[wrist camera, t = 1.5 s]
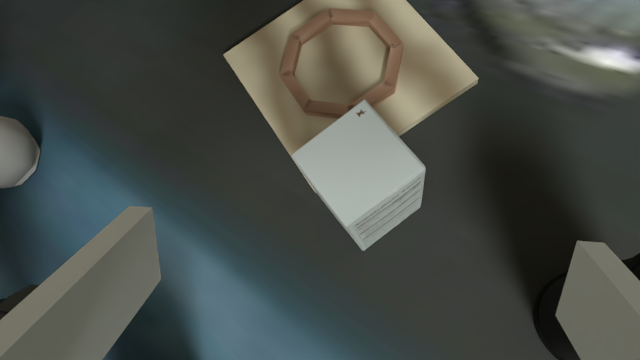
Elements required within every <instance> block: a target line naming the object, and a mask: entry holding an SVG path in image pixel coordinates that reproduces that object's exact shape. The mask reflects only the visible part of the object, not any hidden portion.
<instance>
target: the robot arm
mask: <svg viewBox="0 0 640 360" xmlns="http://www.w3.org/2000/svg"><path fill="white" fill-rule="evenodd" d="M160 280H161V272H160V264H159V257H158V249H157V241H156V233H155V225H154V217H153V210H152V208H149V207H136V206H129V207H128V208H127V209H125V210H124V211H123V212H122V213H121V214H120V215H119V216H118V217H116V218H115V219H114V220H113V221H112V222H111V223H110V224H108V225H107V226H106V227H105V228H104V229H103V230H102V231H101V232H99V233H98V234H97V235H96V236H95V237H94V238H93V239H91V240H90V241H89V242H88V243H87V244H86V245H85V246H84V247H82V248H81V249H80V250H79V251H78V252H77V253H76V254H74V255H73V256H72V257H71V258H70V259H69V260H68V261H67V262H65V263H64V264H63V265H62V266H61V267H60V268H59V269H57V270H56V271H55V272H54V273H53V274H52V275H51V276H50V277H48V278H47V279H46V280H45V281H44V282H43V283H42V284H40V285H30V286H28V287H26V288H24V289H22V290H20V291H18V292H17V293H15V294H13V295H11V296H9V297H8V298H7V299H6V300H4V301H3V302H2V303H1V304H0V360H103V358H104V357H105V356H106V354H107V353H108V351H109V350H110V349H111V347H112V346H113V345H114V343H115V342H116V341H117V339H118V338H119V336H120V335H121V334H122V332H123V331H124V330H125V328H126V327H127V326H128V324H129V323H130V321H131V320H132V319H133V317H134V316H135V315H136V313H137V312H138V310H139V309H140V308H141V306H142V305H143V304H144V302H145V301H146V300H147V298H148V297H149V295H150V294H151V293H152V291H153V290H154V289H155V287H156V286H157V284H158V283H159V282H160ZM555 316H556V317H557V319H558V321H559V323H560V324H561V326H562V328H563V330H564V331H565V333H566V335H567V337H568V338H569V340H570V342H571V344H572V345H573V347H574V349H575V350H576V352H577V354H578V356H579V357H580V359H581V360H640V281H639V280H638V278H637V277H636V276H635V275H634V274H633V273H632V272H631V271H630V270H629V269H628V268H627V267H626V266H625V265H624V263H623V262H622V261H621V260H620V259H619V258H618V257H617V256H616V255H615V254H614V253H613V252H612V251H611V250H610V249H609V247H608V246H607V245H606V244H605V243H601V242H588V241H577V243H576V246H575V250H574V253H573V256H572V260H571V263H570V267H569V270H568V273H567V277H566V280H565V284H564V287H563V290H562V294H561V297H560V301H559V304H558V307H557V311H556V314H555Z"/></svg>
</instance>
